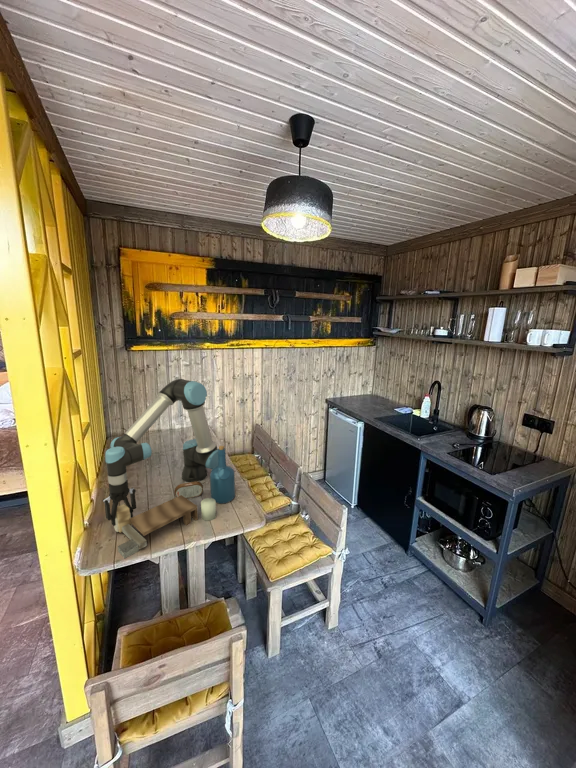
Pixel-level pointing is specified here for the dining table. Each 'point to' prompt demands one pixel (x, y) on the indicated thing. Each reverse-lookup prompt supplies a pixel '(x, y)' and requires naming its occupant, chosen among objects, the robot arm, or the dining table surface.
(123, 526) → the tool
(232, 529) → the dining table surface
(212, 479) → the wine bottle
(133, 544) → the grey stone block
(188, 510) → the shelf
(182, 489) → the tin
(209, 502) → the cream cylinder
